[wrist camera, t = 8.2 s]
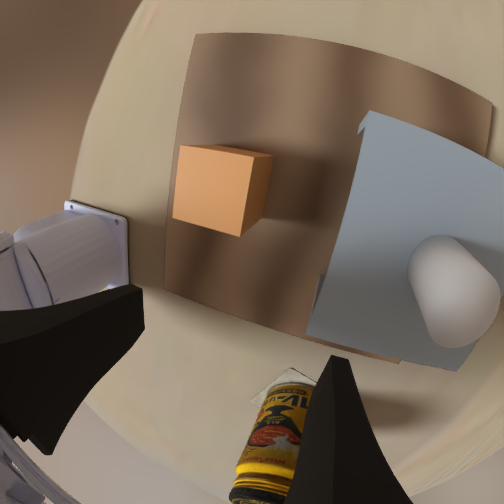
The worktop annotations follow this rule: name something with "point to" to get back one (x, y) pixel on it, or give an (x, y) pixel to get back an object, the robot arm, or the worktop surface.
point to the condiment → (273, 441)
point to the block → (221, 187)
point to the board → (294, 161)
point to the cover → (414, 249)
